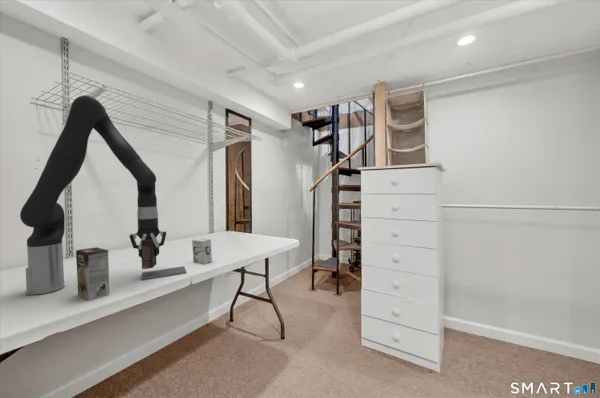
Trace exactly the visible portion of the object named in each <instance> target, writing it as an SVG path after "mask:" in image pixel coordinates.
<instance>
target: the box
mask: <svg viewBox="0 0 600 398" xmlns="http://www.w3.org/2000/svg"><path fill="white" fill-rule="evenodd" d="M140 242H141V252H142V258H141V269H142V270H148V269H153V268H154V267H155V266H156V265H157V256H156V250H155V247H156V245H155V243H154V242H153V239H150V240H142V241H141V240H140Z"/></svg>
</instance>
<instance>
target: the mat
mask: <svg viewBox="0 0 600 398" xmlns="http://www.w3.org/2000/svg"><path fill="white" fill-rule="evenodd" d="M184 274H187V270H186V267H185V266H183V265H182V266H177V267H170V268H164V269H163V268H162V269H155V270H150V271H142V272H141V277H140V278H141V280H140V281H146V280H147V279H148V280H152V279H153V278H154V279H159V278H167V277H171V276H179V275H184Z"/></svg>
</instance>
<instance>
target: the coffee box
mask: <svg viewBox="0 0 600 398" xmlns="http://www.w3.org/2000/svg"><path fill="white" fill-rule="evenodd" d="M75 258H76V260H75V261H76V277H77V278H76V279H77V295H78V296H80V297H81V298H83V299H85V300H86V301H93V300H95V299H98V298H99V299H100V298H101V297H105V296H109V295H110V269H109V268H110V267H109V264H110V263H109V249H105V248H100V247H91V248H88V247H87V248H82V249H77V250H75Z"/></svg>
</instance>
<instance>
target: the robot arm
mask: <svg viewBox="0 0 600 398" xmlns="http://www.w3.org/2000/svg"><path fill="white" fill-rule="evenodd" d="M92 130H94V131H96V132H97V133H98V134H99V135H100V137H101V138H102V139H103V140H104V142H105V143H106V145H107V146H108V147H109V149H110V151H111V152H112V154H113V155H114V156H115V158H117V160H118V161H119V162H120V163H121V164H122V165H123V167H124V168H125V169H126V170H128V171H129V172H130V174H131V175H132V177H133V178H134V180H135V181H136V185H137V186H136V187H137V214H136V215H137V232H136V233H131V234H130V235H129V239H130V242H131V245H132V247H133V249H135V250H136V249H137V250H138V257H139V258H140V259H142V252H141V241H142V240H150V239H153V242H154V243H155V245H156V247H155V250H156V257H158V255H159V254H160V247H162V246H164V245H165V240H166V236H167V231H166V230H165V231H161V230H160V228H159V212H158V203H157V202H158V201H157V195H156V194H157V193H156V182H157V177H156V174H155V173H154V171H152V170H151V168H150V167H149V166H148V165H147V164H146V163H145V161H144V160H143V159H142V158H141V156H140V155H139V154H138V152H137V151H136V150H135V149H134V147H133V146H132V145H131V144H130V143H129V141H127V139H125V137H124V136H123V135H122V134H121V132H120V131H119V129H117V127H116V126H115V125H114V123H113V121H112V120H111V118H110V116H109V114H108V113H107V111H106V107H104V105H103V104H102V103H101V101H99V100H98V99H96V98H94V97H93V96H91V95H80V96H78V97H75V99H73V101H72V103H71V106H70V109H69V113H68V116H67V120H66V123H65V125H64V128H63V129H62V131H61V133H60V135H59V137H58V139H57V140H56V142H55V144H54V147H53V148H52V150H51V153H50V154H49V156H48V159H47V160H46V164H45V165H44V166H45V167H44V168H43V170H42V173H41V174H40V177H39V179H38V181H37V184H36V185H35V187H34V189H33V190H32V192H31V193H30V195H29V197H28V198H27V200H26V201H25V203H24V204H23V206H22V207H21V210H20V215H19V217H20V220H21V222H22V223H23V225H25V226H26V227H30V228H33V230H32V233H31V235H29V236H28V238H27V239H26V249H27V250H26V253H27V267H26V268H25V284H26V296H30V295H31V296H32V295H35V296H36V295H37V296H38V295H44V294H49V293H53V292H56V291H58V290H61V289H64V287H65V277H64V276H65V274H64V273H65V270H64V269H65V268H64V253H63V252H64V251H63V249H64V248H63V237H64V236H65V235H64V234H65V227H66V225H65V224H66V223H65V219H66V218H65V211H64V208H63V207H62V205H61V204H60V203H58V200H59V198H60V196H61V195H62V192H63V191H64V190H65V189H66V187H68V186H69V185H70V184H71V182H73V180H74V179H75V178H76V177H77V176H78V174H79V173H80V170H81V169H82V166H83V163H84V162H85V159H86V156H87V149H88V143H89V138H90V135H91V133H92ZM159 234H160V237H161V239H160V242H158V239H157V237H158V236H159ZM137 237H138V238H139V239H140V242H139V245H138V244H137V242H136V239H137Z"/></svg>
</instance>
